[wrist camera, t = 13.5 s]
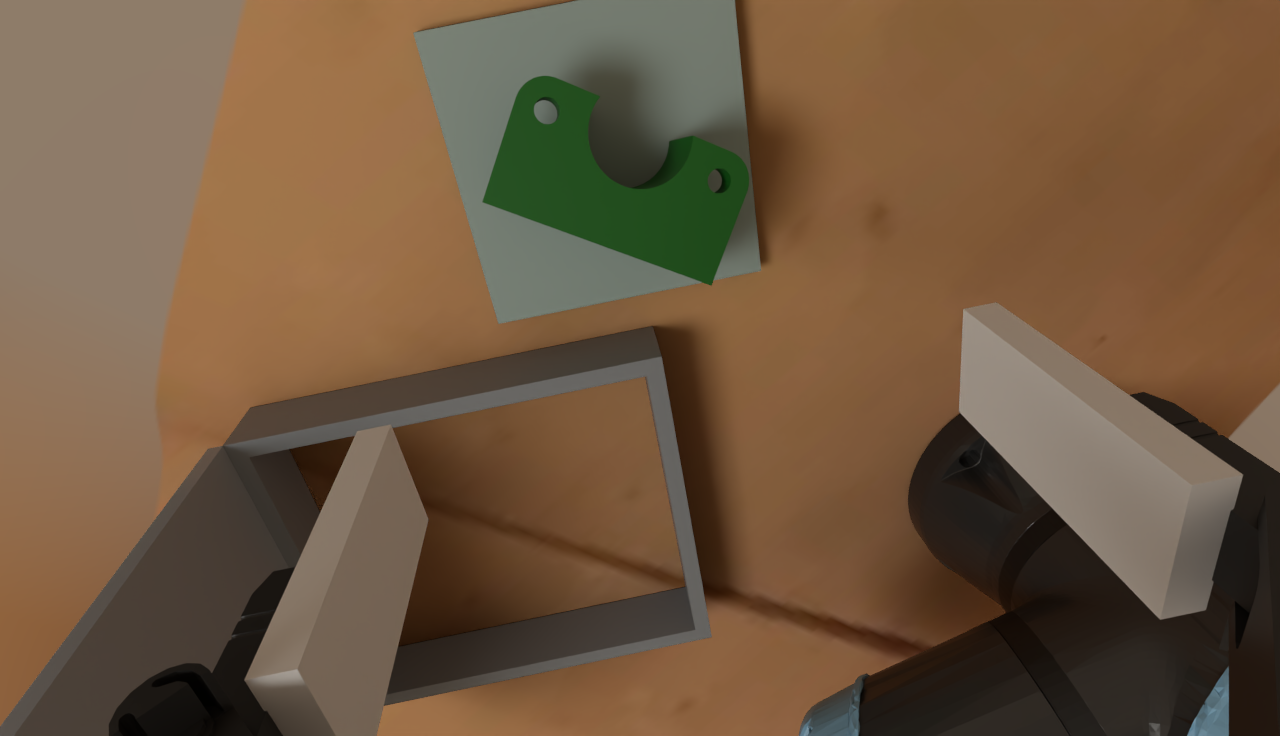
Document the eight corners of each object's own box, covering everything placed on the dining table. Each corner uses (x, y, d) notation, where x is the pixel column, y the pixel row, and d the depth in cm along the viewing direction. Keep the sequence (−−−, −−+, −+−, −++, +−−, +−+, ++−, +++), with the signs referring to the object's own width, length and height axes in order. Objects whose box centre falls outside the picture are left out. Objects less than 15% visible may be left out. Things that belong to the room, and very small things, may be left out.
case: (652, 326, 43) (743, 631, 22) (701, 593, 53) (793, 967, 33) (236, 410, 42) (-54, 798, 22) (367, 663, 53) (252, 1085, 32)
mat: (727, -30, 34) (731, -30, 34) (756, 264, 42) (761, 270, 41) (416, 31, 34) (413, 32, 33) (499, 316, 41) (498, 323, 40)
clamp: (672, 154, 41) (783, 175, 34) (636, 253, 42) (736, 294, 35) (484, 63, 34) (575, 67, 27) (445, 186, 35) (524, 220, 28)
